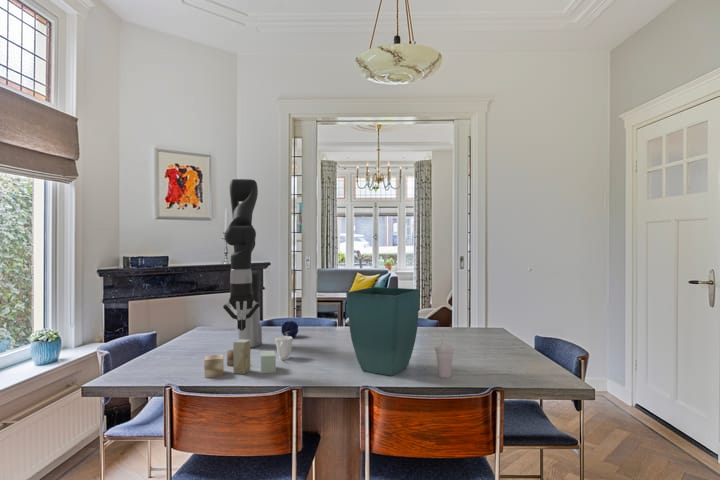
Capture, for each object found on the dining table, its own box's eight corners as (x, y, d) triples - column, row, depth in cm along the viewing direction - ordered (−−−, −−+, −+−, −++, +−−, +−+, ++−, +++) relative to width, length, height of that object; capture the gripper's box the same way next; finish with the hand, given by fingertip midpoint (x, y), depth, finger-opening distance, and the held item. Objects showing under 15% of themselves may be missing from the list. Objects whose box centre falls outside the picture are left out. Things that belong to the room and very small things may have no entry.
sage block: (274, 367, 160) (274, 350, 160) (275, 372, 153) (275, 355, 153) (260, 368, 158) (260, 351, 158) (261, 373, 152) (261, 356, 152)
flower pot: (396, 381, 141) (395, 294, 141) (345, 372, 151) (345, 292, 151) (421, 366, 158) (420, 289, 158) (374, 359, 168) (373, 286, 168)
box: (244, 374, 151) (243, 342, 151) (232, 373, 152) (232, 342, 152) (251, 369, 156) (250, 339, 156) (240, 369, 157) (239, 338, 157)
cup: (294, 355, 175) (294, 335, 175) (289, 362, 165) (289, 341, 165) (277, 355, 175) (277, 335, 175) (271, 362, 165) (271, 341, 165)
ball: (296, 338, 206) (296, 322, 206) (280, 339, 207) (280, 323, 207) (299, 335, 214) (298, 319, 214) (283, 335, 215) (283, 320, 215)
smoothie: (433, 373, 149) (432, 332, 149) (451, 372, 150) (450, 332, 150) (438, 379, 143) (437, 336, 143) (456, 378, 143) (456, 336, 143)
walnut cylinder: (236, 361, 167) (236, 348, 167) (243, 364, 164) (243, 351, 164) (224, 364, 164) (224, 351, 164) (231, 367, 160) (231, 353, 160)
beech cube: (223, 371, 155) (223, 354, 155) (222, 375, 150) (222, 358, 150) (205, 372, 154) (205, 355, 154) (204, 377, 148) (204, 360, 148)
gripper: (221, 283, 149) (221, 333, 149) (260, 281, 152) (261, 331, 152) (222, 281, 156) (222, 329, 156) (259, 280, 159) (260, 326, 159)
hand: (241, 330), depth 154 cm, fingers closed
